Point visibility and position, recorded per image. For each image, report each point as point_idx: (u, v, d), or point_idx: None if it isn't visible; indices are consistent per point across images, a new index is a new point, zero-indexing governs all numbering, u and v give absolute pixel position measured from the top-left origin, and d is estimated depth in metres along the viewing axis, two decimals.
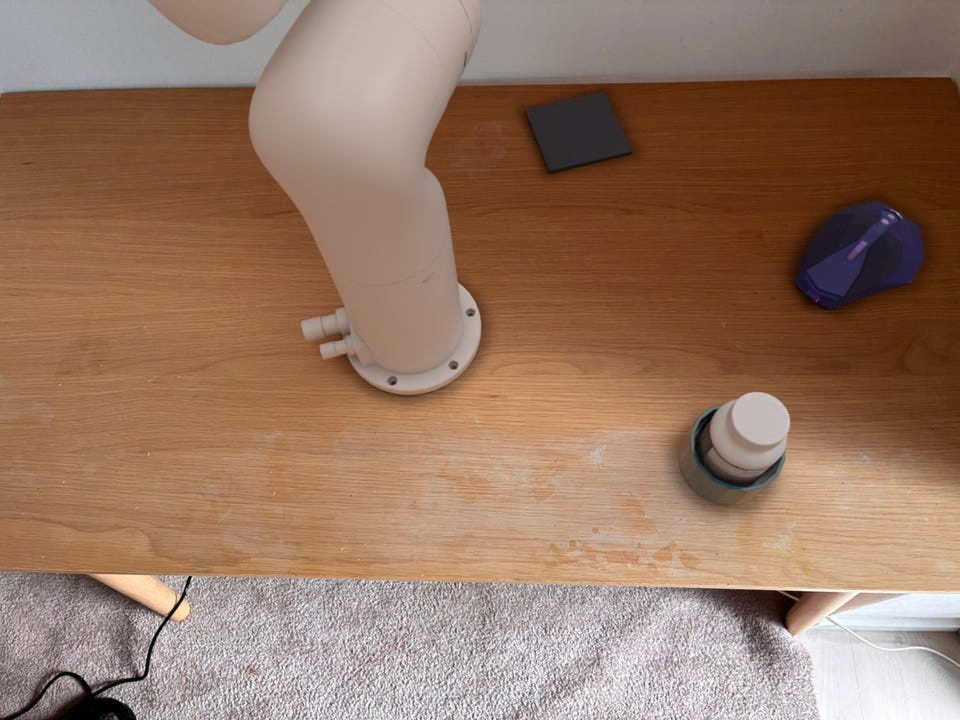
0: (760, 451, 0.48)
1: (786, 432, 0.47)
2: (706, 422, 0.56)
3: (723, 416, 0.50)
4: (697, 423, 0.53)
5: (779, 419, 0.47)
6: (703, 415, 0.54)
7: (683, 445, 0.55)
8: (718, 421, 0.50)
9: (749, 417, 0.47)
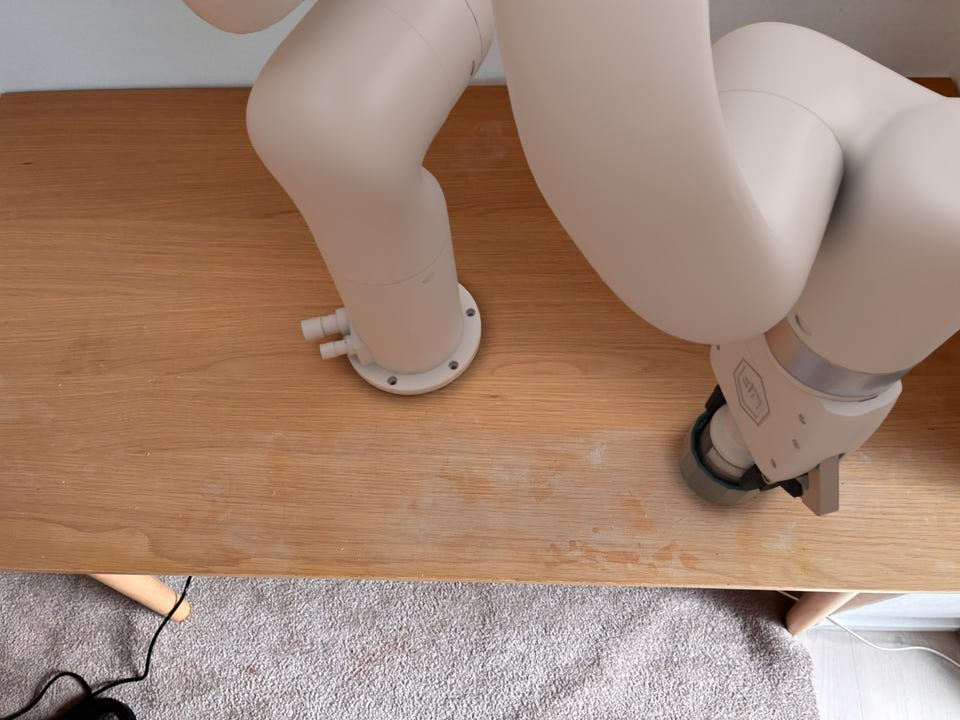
0: None
1: None
2: (706, 422, 0.56)
3: (723, 416, 0.50)
4: (697, 423, 0.53)
5: None
6: (703, 415, 0.54)
7: (683, 445, 0.55)
8: (718, 421, 0.50)
9: None
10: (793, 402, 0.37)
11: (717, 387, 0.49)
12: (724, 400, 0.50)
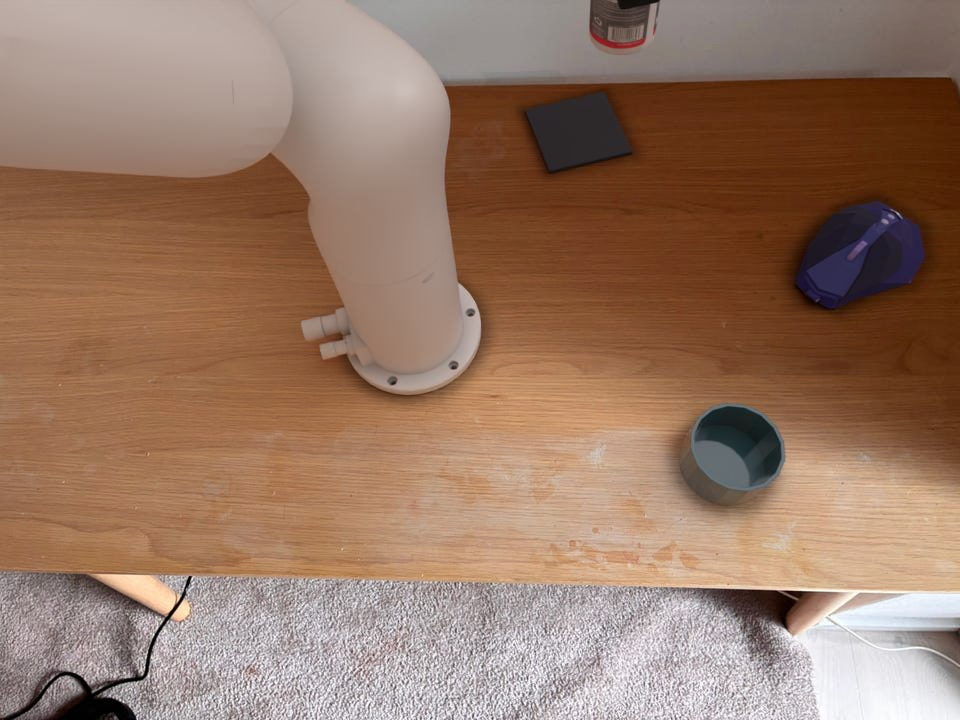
0: None
1: None
2: (706, 422, 0.56)
3: None
4: (697, 423, 0.53)
5: None
6: (703, 415, 0.54)
7: (683, 445, 0.55)
8: None
9: None
10: None
11: None
12: None
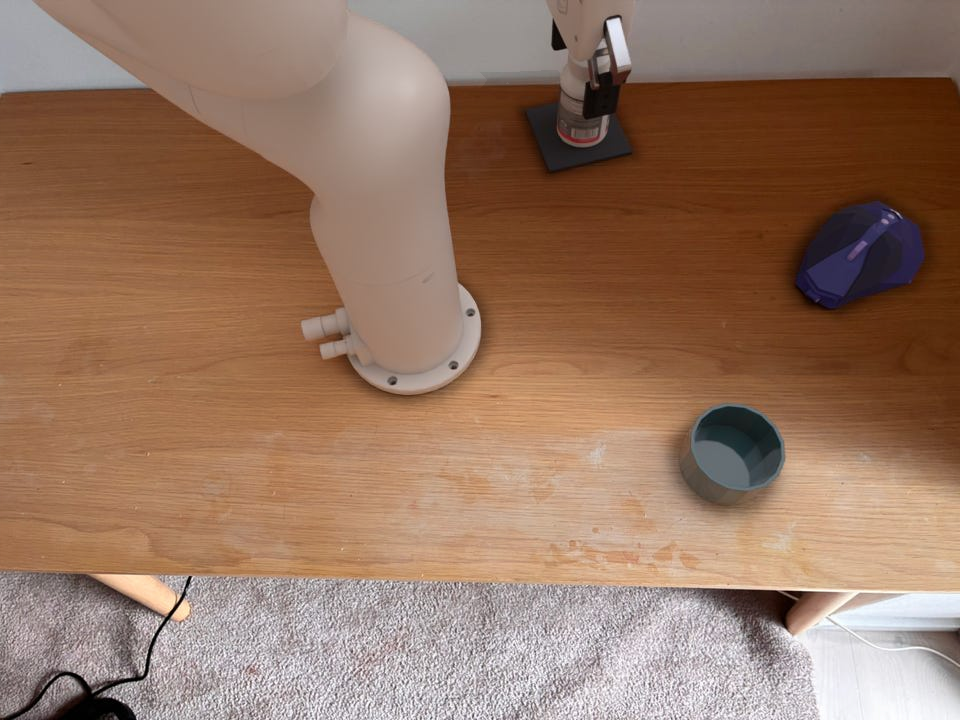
0: None
1: (607, 60, 0.63)
2: (706, 422, 0.56)
3: (568, 64, 0.66)
4: (697, 423, 0.53)
5: None
6: (703, 415, 0.54)
7: (683, 445, 0.55)
8: (564, 69, 0.66)
9: None
10: None
11: None
12: None
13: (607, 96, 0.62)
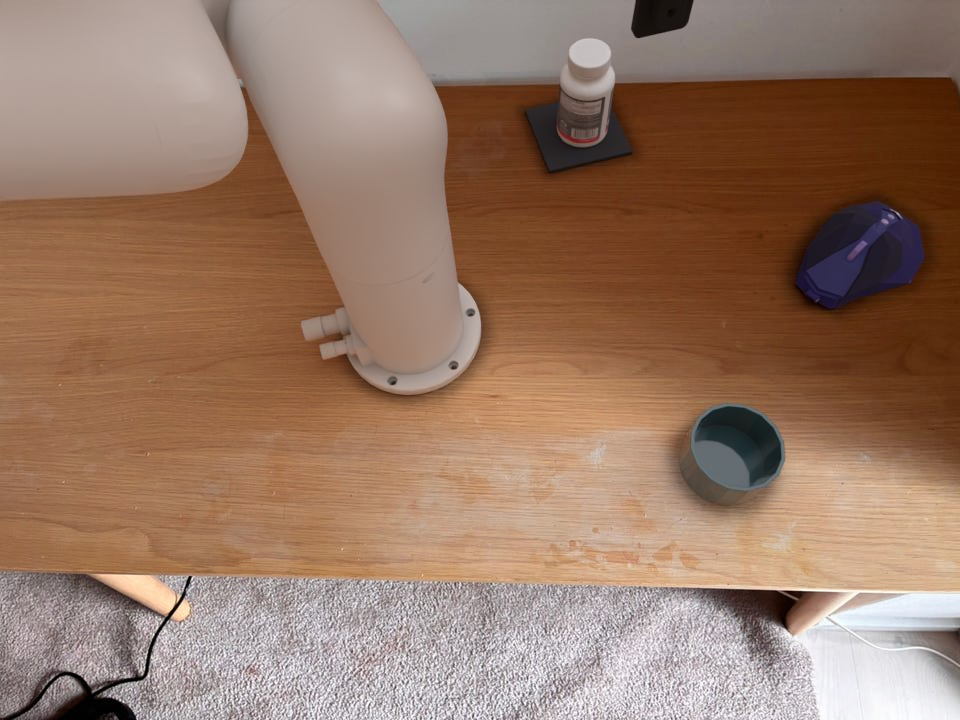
0: (590, 79, 0.64)
1: (606, 60, 0.63)
2: (706, 422, 0.56)
3: (568, 64, 0.66)
4: (697, 423, 0.53)
5: (603, 53, 0.64)
6: (703, 415, 0.54)
7: (683, 445, 0.55)
8: (564, 69, 0.66)
9: (581, 52, 0.64)
10: None
11: None
12: None
13: None
